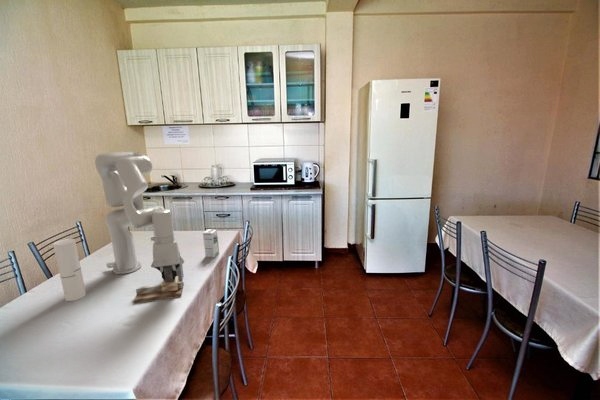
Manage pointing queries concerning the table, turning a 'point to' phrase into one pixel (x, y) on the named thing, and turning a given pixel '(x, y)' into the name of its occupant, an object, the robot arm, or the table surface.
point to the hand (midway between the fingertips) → (169, 278)
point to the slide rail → (156, 293)
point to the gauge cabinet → (180, 273)
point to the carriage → (169, 280)
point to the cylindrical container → (69, 269)
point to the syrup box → (211, 243)
